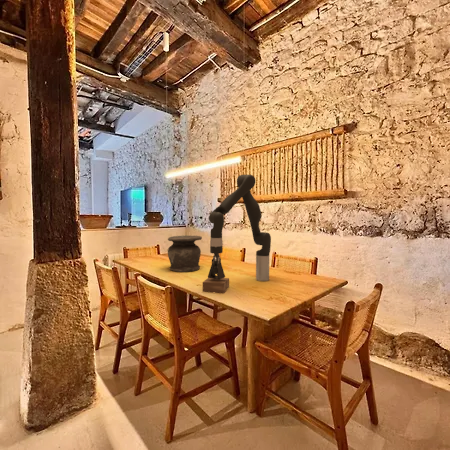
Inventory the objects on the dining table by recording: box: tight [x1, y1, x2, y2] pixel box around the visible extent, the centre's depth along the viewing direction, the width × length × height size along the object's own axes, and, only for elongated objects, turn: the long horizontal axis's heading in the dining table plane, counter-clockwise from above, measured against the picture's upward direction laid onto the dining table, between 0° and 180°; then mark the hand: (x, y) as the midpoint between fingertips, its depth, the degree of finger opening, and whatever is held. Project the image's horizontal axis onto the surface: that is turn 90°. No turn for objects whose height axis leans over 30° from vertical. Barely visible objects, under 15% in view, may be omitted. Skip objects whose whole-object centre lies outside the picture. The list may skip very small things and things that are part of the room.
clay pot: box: [167, 235, 202, 273], centre depth 218 cm, size 29×30×30 cm
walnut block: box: [202, 277, 230, 294], centre depth 161 cm, size 13×13×6 cm
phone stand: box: [207, 257, 226, 279], centre depth 160 cm, size 9×6×12 cm, turn 60°
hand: (216, 272), depth 161 cm, fingers closed on phone stand, 6 cm apart
